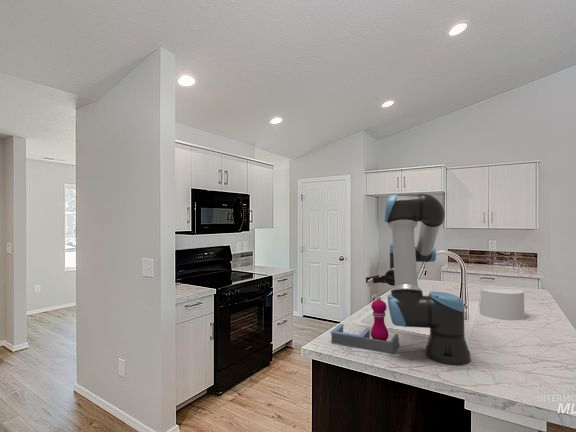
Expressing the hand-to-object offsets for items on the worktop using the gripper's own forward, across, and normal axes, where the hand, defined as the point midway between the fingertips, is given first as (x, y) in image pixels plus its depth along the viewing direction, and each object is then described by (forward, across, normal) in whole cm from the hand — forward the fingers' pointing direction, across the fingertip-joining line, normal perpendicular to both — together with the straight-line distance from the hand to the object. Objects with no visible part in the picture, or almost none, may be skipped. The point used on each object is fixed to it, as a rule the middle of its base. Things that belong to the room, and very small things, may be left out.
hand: (383, 285), depth 147 cm
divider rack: (+10, +6, -23) cm, 26 cm away
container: (-60, -47, -24) cm, 80 cm away
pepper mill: (+10, 0, -23) cm, 25 cm away
